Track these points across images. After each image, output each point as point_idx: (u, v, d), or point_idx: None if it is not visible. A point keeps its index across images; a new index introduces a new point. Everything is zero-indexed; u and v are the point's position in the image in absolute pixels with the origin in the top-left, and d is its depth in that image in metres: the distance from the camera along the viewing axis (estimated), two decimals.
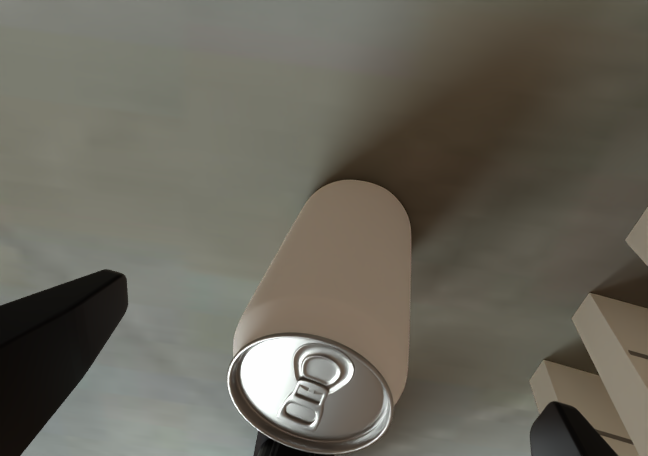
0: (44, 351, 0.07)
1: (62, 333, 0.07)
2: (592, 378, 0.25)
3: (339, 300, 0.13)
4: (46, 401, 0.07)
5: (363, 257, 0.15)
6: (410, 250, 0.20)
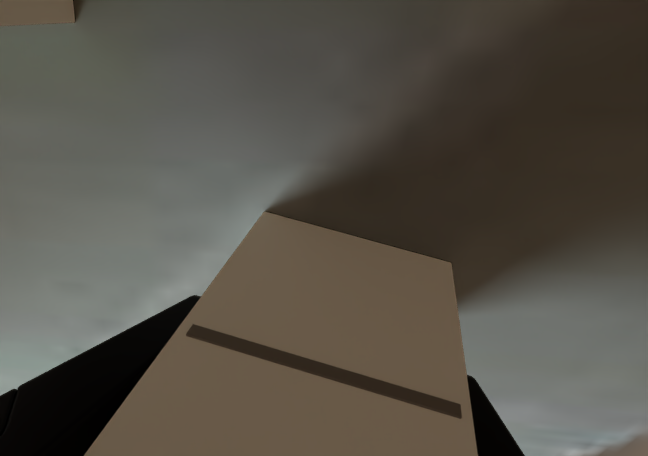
0: None
1: None
2: None
3: None
4: None
5: None
6: None
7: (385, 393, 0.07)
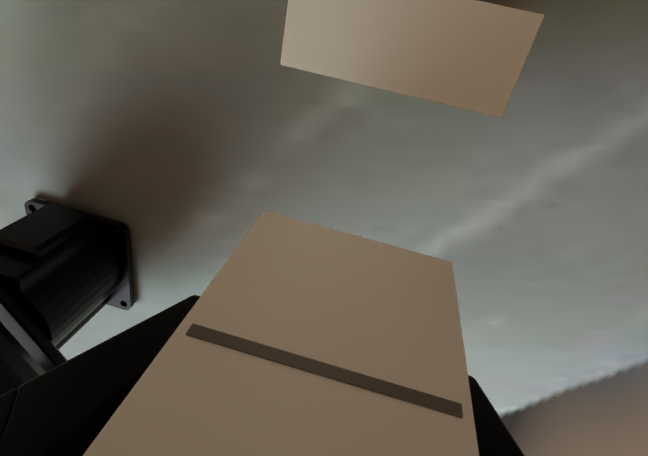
0: None
1: None
2: None
3: None
4: None
5: None
6: None
7: (386, 393, 0.06)
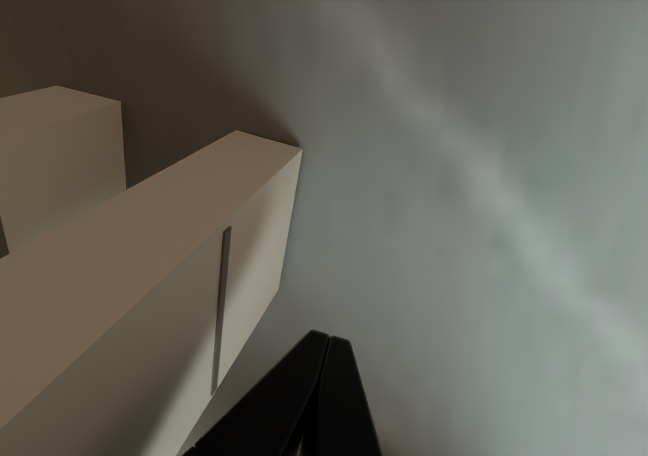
0: (299, 431, 0.06)
1: (308, 409, 0.07)
2: None
3: None
4: None
5: None
6: None
7: None
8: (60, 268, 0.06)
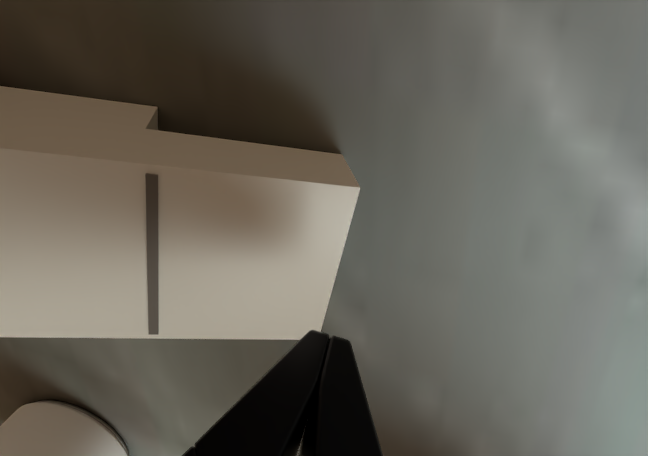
0: (299, 431, 0.06)
1: (308, 409, 0.07)
2: None
3: None
4: None
5: None
6: None
7: None
8: (43, 127, 0.09)
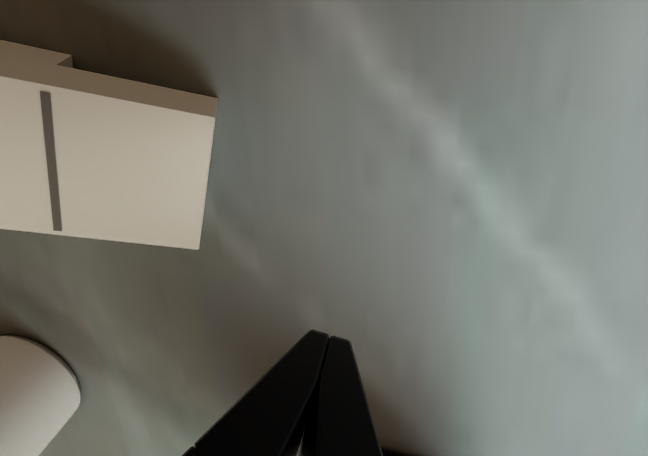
0: (299, 431, 0.06)
1: (308, 409, 0.07)
2: None
3: None
4: None
5: None
6: None
7: None
8: None
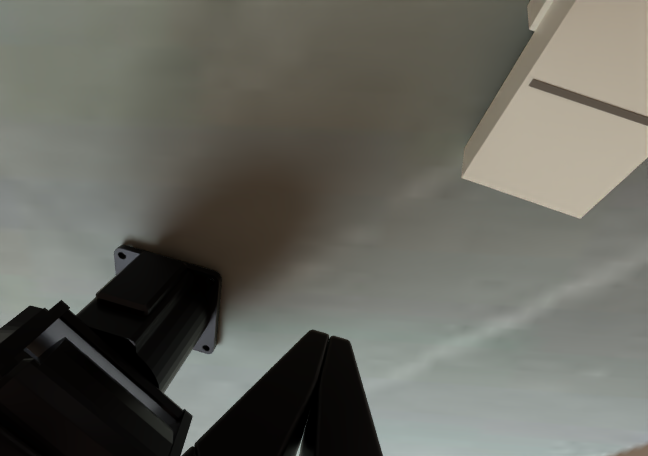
0: (298, 432, 0.06)
1: (307, 409, 0.07)
2: None
3: None
4: None
5: None
6: None
7: None
8: None
